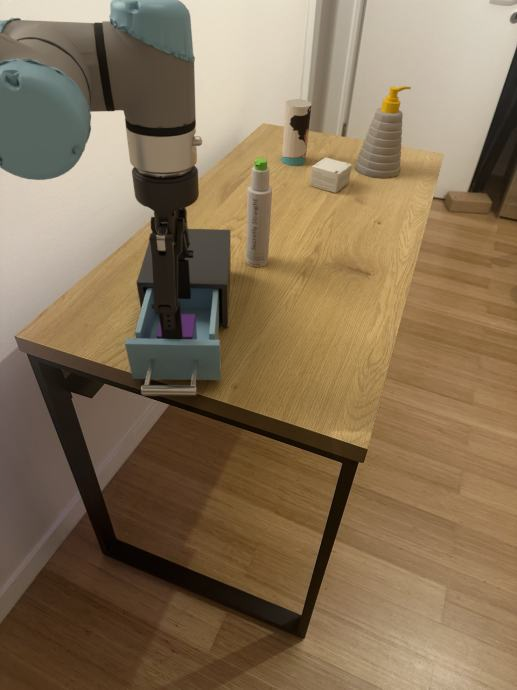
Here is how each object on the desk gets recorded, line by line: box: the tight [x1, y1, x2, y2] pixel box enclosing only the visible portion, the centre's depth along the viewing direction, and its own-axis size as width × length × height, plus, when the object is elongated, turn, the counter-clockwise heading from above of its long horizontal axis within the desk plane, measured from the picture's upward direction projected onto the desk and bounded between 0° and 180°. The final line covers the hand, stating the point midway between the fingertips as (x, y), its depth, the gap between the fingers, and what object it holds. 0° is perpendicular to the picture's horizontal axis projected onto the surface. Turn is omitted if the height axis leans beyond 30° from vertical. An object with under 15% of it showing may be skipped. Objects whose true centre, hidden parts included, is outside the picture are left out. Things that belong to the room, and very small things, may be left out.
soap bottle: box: [354, 85, 412, 179], centre depth 121 cm, size 12×12×20 cm
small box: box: [309, 156, 353, 194], centre depth 117 cm, size 8×8×5 cm
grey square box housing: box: [136, 228, 232, 329], centre depth 79 cm, size 17×14×9 cm
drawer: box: [124, 287, 222, 397], centre depth 67 cm, size 22×13×7 cm, turn 1°
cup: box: [281, 98, 313, 167], centre depth 125 cm, size 7×7×15 cm
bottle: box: [245, 157, 273, 268], centre depth 85 cm, size 4×4×20 cm
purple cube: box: [156, 314, 197, 339], centre depth 67 cm, size 5×5×5 cm
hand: (177, 318), depth 67 cm, fingers open, 10 cm apart
